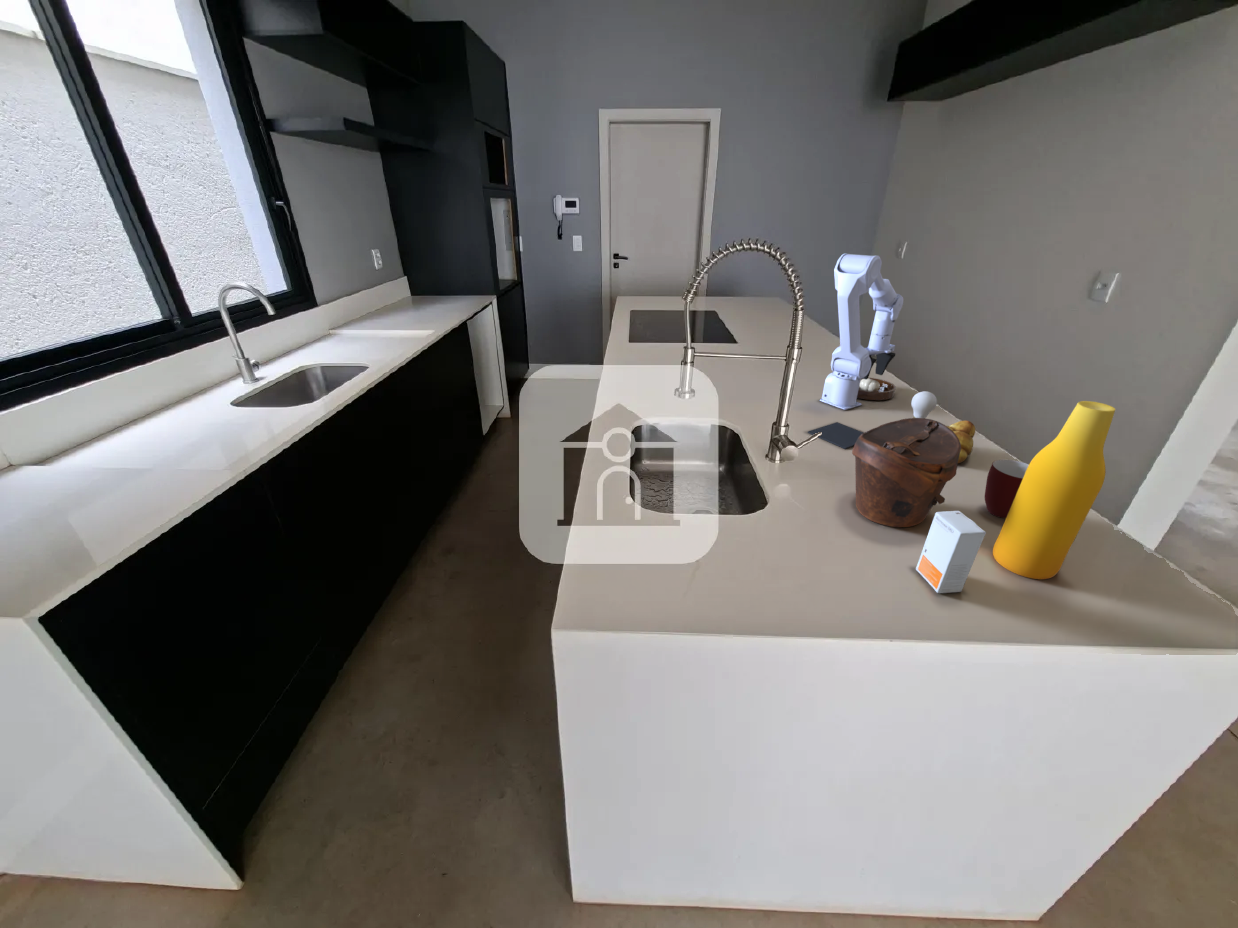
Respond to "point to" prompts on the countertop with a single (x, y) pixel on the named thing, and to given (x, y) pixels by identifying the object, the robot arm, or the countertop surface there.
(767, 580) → the countertop surface
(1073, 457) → the beer bottle
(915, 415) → the light bulb
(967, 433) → the bread roll
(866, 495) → the case
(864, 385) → the white grooved oval
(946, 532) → the cosmetic box
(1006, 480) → the mug
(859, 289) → the robot arm
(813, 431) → the mat
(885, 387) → the bowl
